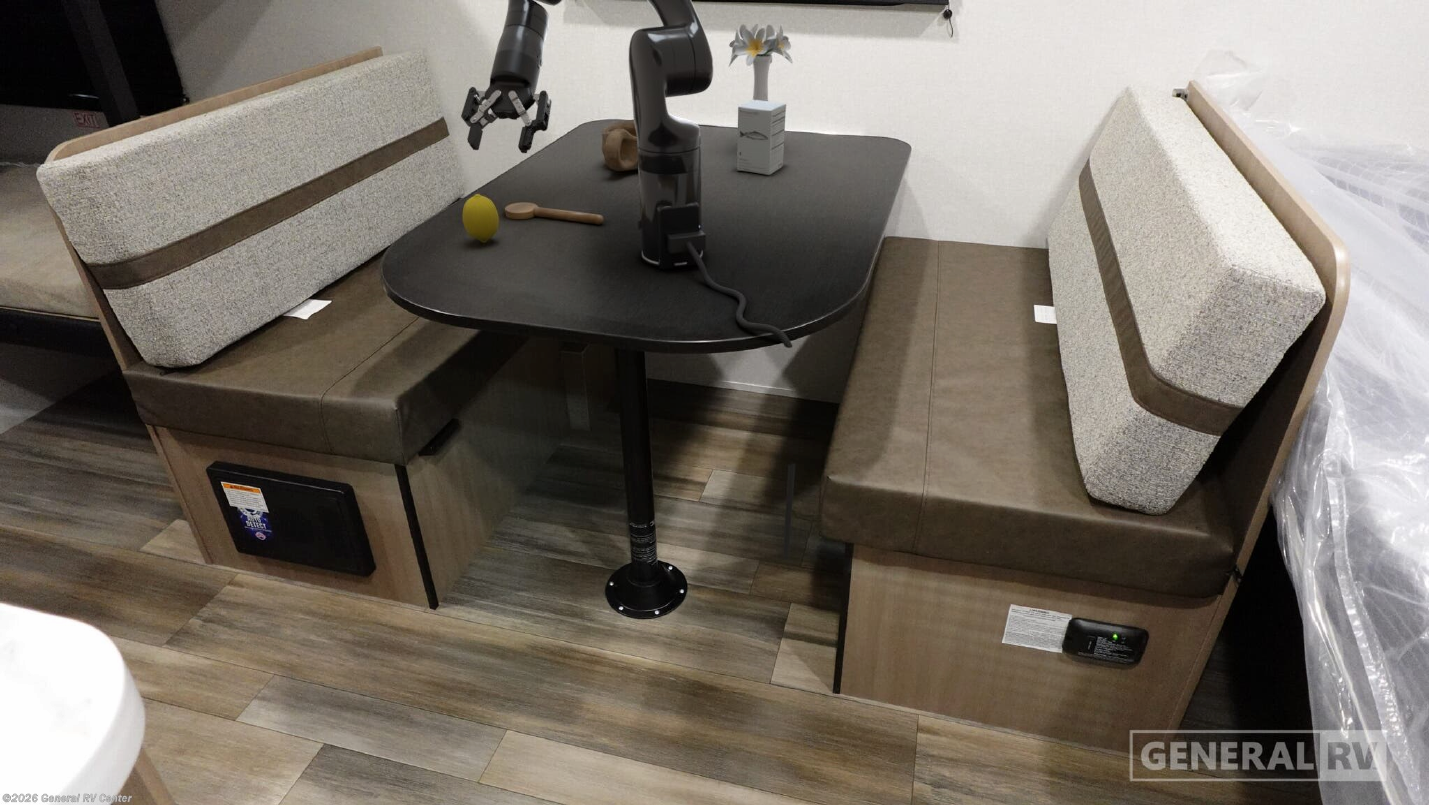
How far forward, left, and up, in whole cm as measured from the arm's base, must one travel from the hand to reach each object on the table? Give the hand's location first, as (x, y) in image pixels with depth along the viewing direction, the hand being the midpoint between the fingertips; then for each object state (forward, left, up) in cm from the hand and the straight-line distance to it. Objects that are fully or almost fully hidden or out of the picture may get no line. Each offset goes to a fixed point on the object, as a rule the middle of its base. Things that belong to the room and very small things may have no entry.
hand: (497, 149), depth 143 cm
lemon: (-8, +5, -13) cm, 16 cm away
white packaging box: (+16, -52, -13) cm, 56 cm away
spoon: (0, -8, -13) cm, 15 cm away
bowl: (+25, -28, -13) cm, 40 cm away
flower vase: (+31, -57, -13) cm, 67 cm away
